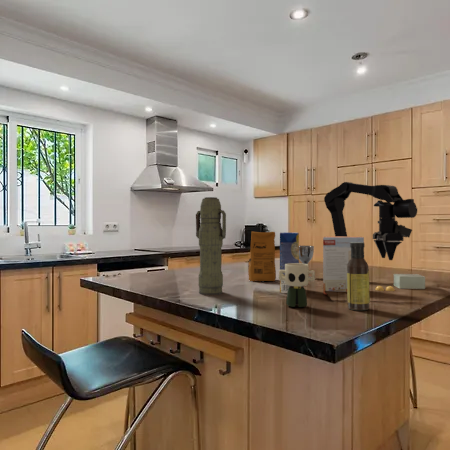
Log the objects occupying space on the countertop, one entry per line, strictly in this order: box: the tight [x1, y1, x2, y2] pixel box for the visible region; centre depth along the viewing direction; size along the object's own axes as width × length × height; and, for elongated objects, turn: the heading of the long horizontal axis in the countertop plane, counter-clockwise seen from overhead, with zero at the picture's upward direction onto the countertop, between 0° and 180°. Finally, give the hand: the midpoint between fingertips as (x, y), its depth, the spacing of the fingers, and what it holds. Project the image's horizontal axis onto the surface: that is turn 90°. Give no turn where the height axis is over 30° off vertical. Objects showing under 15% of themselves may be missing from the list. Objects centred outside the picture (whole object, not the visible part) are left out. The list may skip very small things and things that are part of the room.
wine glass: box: [299, 245, 315, 278], centre depth 179 cm, size 8×8×15 cm
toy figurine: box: [278, 262, 316, 308], centre depth 116 cm, size 11×7×13 cm, turn 80°
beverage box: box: [279, 232, 300, 294], centre depth 144 cm, size 7×11×22 cm, turn 170°
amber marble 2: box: [385, 285, 396, 292], centre depth 137 cm, size 3×3×3 cm
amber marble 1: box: [374, 285, 385, 292], centre depth 137 cm, size 3×3×3 cm
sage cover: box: [393, 273, 426, 290], centre depth 144 cm, size 9×7×6 cm
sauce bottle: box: [346, 242, 371, 312], centre depth 113 cm, size 6×6×20 cm
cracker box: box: [322, 235, 365, 296], centre depth 137 cm, size 14×6×21 cm, turn 74°
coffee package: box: [247, 231, 277, 282], centre depth 171 cm, size 10×12×22 cm
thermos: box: [195, 196, 227, 296], centre depth 140 cm, size 9×12×35 cm
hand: (387, 259), depth 145 cm, fingers open, 9 cm apart
